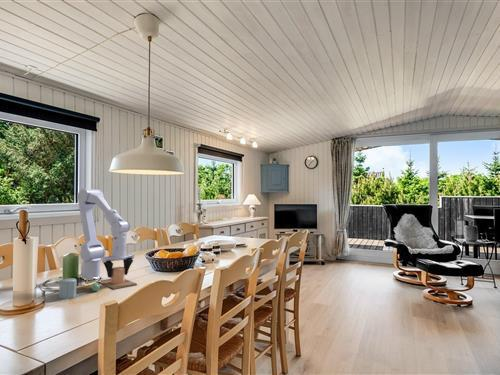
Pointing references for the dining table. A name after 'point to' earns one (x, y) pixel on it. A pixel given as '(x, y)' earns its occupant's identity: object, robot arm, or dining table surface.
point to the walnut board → (117, 286)
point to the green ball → (95, 287)
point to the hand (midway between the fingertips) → (117, 275)
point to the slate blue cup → (67, 288)
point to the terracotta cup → (117, 275)
